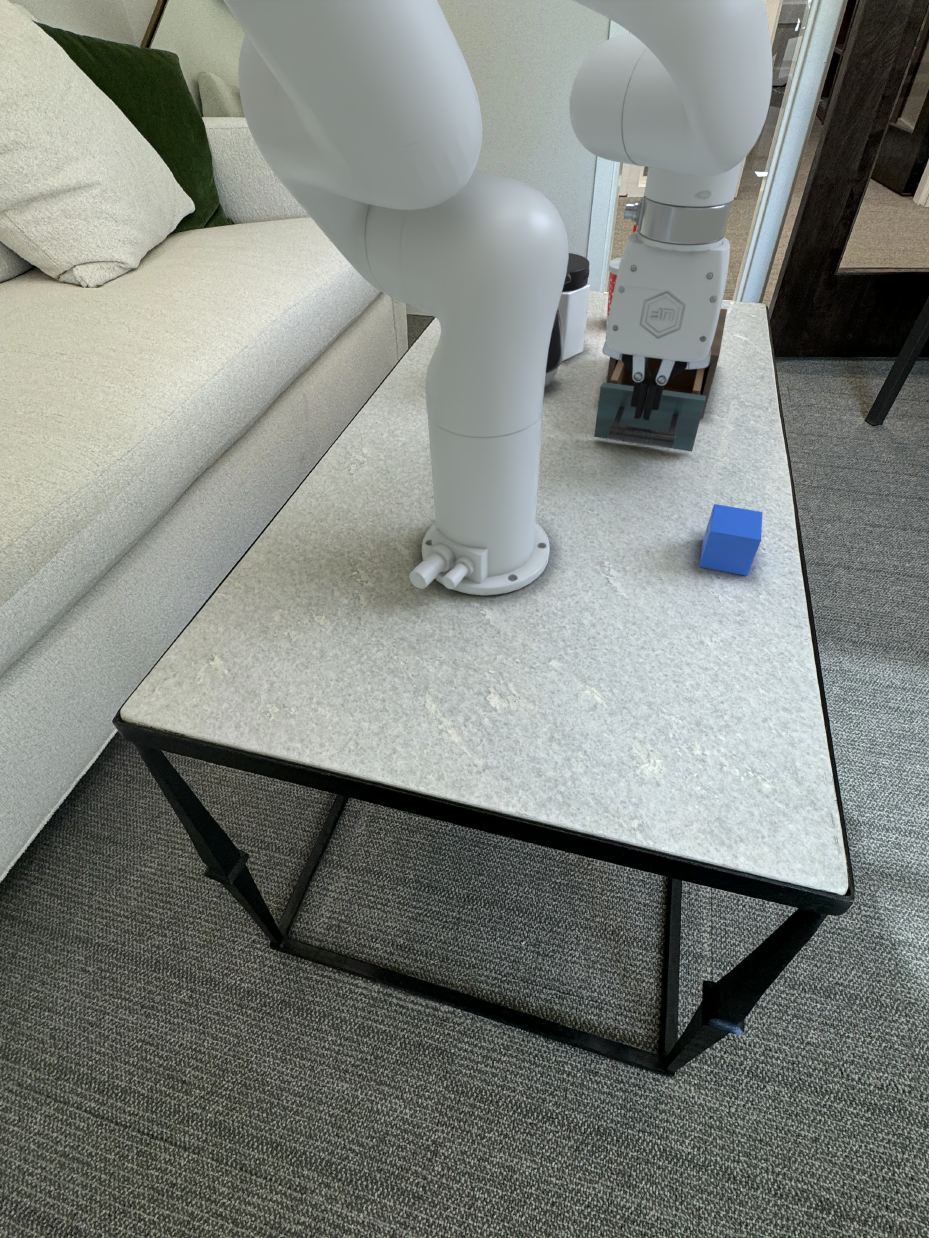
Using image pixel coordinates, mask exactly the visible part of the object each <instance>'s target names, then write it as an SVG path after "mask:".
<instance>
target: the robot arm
mask: <svg viewBox="0 0 929 1238" xmlns="http://www.w3.org/2000/svg"><path fill="white" fill-rule="evenodd" d="M222 1H223V3H224V4H225V5H226V7H227V9H228V10H229V12H230V13H231V14H232V16H233V17H234V19H235V20H236V22H237V23H238V24H239V26H240V28H241V30H242V31H243V32H244V37H243V40H242V43H241V47H240V50H239V51H240V52H239V58H238V66H237V67H238V69H237V71H238V72H237V73H238V74H237V75H238V89H239V91H238V92H239V96H240V103H241V108H242V111H243V115H244V118H245V121H246V125H247V127H248V129H249V132H250V135H251V137H252V139H253V141H254V143H255V145H256V146H257V149H258V151H259V152H260V154H261V156H262V157H263V159H264V161H265V163H266V164H267V165H268V167H269V168H270V170H271V171H272V172H273V173H274V175H275V176H276V177H277V179H278V180H279V181H280V183H281V184H282V185H283V186H284V187H285V189H286V190H287V191H288V192H289V194H290V195H291V196H292V197H293V198H294V199H295V201H296V202H297V203H298V204H299V205H300V206H301V208H302V209H303V210H304V211H305V212H306V214H307V215H308V216H309V218H311V220H312V221H313V222H314V223H315V224H316V226H317V227H318V228H319V229H320V230H321V231H322V233H323V234H324V235H325V237H326V238H328V241H330V243H332V244H333V245H334V247H335V248H336V250H338V251H339V253H340V254H341V255H342V256H343V257H344V258H345V260H346V261H347V262H348V263H349V264H350V265H351V267H352V268H353V269H354V270H355V271H356V272H357V273H358V274H359V275H360V276H361V277H362V278H363V279H364V280H365V281H366V282H367V283H368V284H370V285H371V286H372V287H373V288H375V289H376V290H378V291H379V292H381V293H383V294H384V295H386V296H389V297H390V298H392V299H394V300H397V301H399V302H401V303H404V304H405V305H406V304H407V305H408V306H411V307H413V308H415V309H416V310H417V309H418V310H419V311H422V312H424V313H425V314H427V315H429V316H432V317H434V318H435V319H437V320H438V322H439V325H440V334H439V339H438V341H437V344H436V347H435V349H434V351H433V354H432V356H431V358H430V361H429V362H428V367H427V371H426V378H425V403H426V415H427V426H428V427H427V428H428V438H429V439H428V440H429V454H430V467H431V479H432V480H431V481H432V494H433V506H434V507H433V508H434V521H435V522H434V523H433V524H432V525H431V526H430V527H429V529H428V530H427V531H426V532H425V534H424V537H423V539H422V541H421V556H422V561H421V562H419V564H418V565H416V566H415V567H414V568H413V569H412V570H411V571H410V573H408V578H409V580H410V583H411V584H412V585H413V586H414V587H416V588H417V589H420V590H424V589H426V588H427V587H428V586H429V585H430V584H431V583H432V582H433V581H434V580H436V581H437V582H438V583H440V584H441V585H443V586H444V587H445V588H446V589H448V590H453V591H456V592H460V593H463V594H468V595H475V596H496V595H501V594H507V593H511V592H514V591H517V590H520V589H522V588H525V587H526V586H528V585H530V584H532V583H533V582H534V581H535V580H537V579H538V578H539V577H540V576H541V575H542V573H543V572H544V571H545V569H546V567H547V565H548V563H549V559H550V550H551V549H550V547H551V544H550V540H549V536H548V535H547V533H546V531H545V530H544V528H543V527H542V526H541V525H540V524H539V523H538V522H537V507H538V495H539V494H538V493H539V492H538V490H539V476H540V463H541V462H540V460H541V447H542V432H543V417H544V397H545V387H546V386H545V374H546V365H547V357H548V349H549V344H550V338H551V333H552V328H553V324H554V320H555V315H556V312H557V308H558V304H559V301H560V297H561V293H562V290H563V286H564V281H565V277H566V272H567V265H568V256H569V253H570V250H569V249H570V247H569V237H568V232H567V228H566V225H565V223H564V220H563V218H562V217H561V214H560V213H559V210H558V209H557V208H556V206H555V205H554V204H553V203H552V201H550V199H549V198H548V197H547V196H545V195H544V194H543V193H542V192H541V191H540V190H538V189H536V188H534V187H533V186H531V185H529V184H527V183H526V182H523V181H521V180H519V179H516V178H514V177H510V176H507V175H503V174H500V173H495V172H491V171H486V170H483V169H477V164H478V162H479V158H480V154H481V150H482V144H483V133H484V132H483V117H482V110H481V105H480V99H479V95H478V91H477V89H476V85H475V83H474V80H473V78H472V75H471V71H470V69H469V66H468V64H467V61H466V58H465V57H464V55H463V52H462V50H461V48H460V46H459V43H458V41H457V39H456V37H455V35H454V33H453V31H452V29H451V26H450V24H449V21H448V20H447V18H446V16H445V14H444V11H443V10H442V7H441V5H440V3H439V1H438V0H222ZM572 1H574V2H575V3H577V4H579V5H582V6H584V7H585V8H587V9H590V10H591V11H594V12H596V13H597V14H599V15H602V16H604V18H605V17H606V18H607V19H608V20H611V21H612V22H614V23H616V24H617V25H619V26H620V27H622V28H624V30H626V31H628V32H629V33H624V34H619V35H616V36H613V37H610V38H609V39H607V40H604V41H603V42H601V43H600V44H599V45H598V46H596V47H595V48H594V49H593V50H592V51H591V52H590V53H589V54H588V55H587V56H586V58H585V59H584V61H583V62H582V64H581V65H580V67H579V69H578V70H577V73H576V75H575V78H574V80H573V83H572V86H571V90H570V95H569V96H570V97H569V118H570V124H571V128H572V130H573V133H574V135H575V137H576V138H577V140H578V142H579V143H580V145H581V146H582V147H583V148H584V149H586V150H587V151H588V152H589V153H591V154H592V155H594V156H596V157H598V158H601V159H603V160H607V161H611V162H616V163H621V164H627V165H632V166H636V167H637V166H639V167H648V168H647V174H646V181H645V188H644V193H643V196H642V197H640V199H639V200H635V201H626V203H625V207H624V212H623V219H624V220H630V221H631V222H635V225H637V229H636V232H634V233H633V232H632V233H631V234H630V235H629V236H628V238H627V239H626V243H625V246H624V249H623V251H622V256H621V257H620V258H621V262H620V266H619V270H618V274H617V278H616V283H615V287H614V292H613V297H612V302H611V307H610V313H609V318H608V324H607V327H606V333H605V341H604V343H603V347H602V348H601V349H602V352H601V353H602V354H603V355H605V356H607V357H609V358H610V357H612V358H614V359H617V360H621V361H622V362H623V363H624V365H625V366H626V367H627V369H628V370H629V371H630V373H631V374H632V377H633V380H634V381H635V383H634V389H633V394H632V399H631V405H630V407H636V411H635V416H634V418H635V419H639V418H641V417H642V414H643V419H644V420H648V421H649V419H650V415H651V412H652V410H657V411H658V410H659V406H660V402H661V397H662V393H663V388H664V385H665V384H666V383H667V381H668V380H670V379H671V378H673V377H674V376H676V375H677V374H679V373H680V372H682V371H683V370H685V369H699V368H706V367H708V365H709V363H710V351H711V345H712V342H713V339H714V335H715V331H716V327H717V323H718V319H719V314H720V310H721V309H722V305H723V300H724V295H725V290H726V286H727V280H728V274H729V266H730V265H729V264H730V258H731V243H730V240H729V239H728V238H726V237H725V234H726V230H727V226H728V222H729V219H730V213H731V210H732V206H733V201H734V197H735V193H736V189H737V185H738V182H739V178H740V173H741V170H742V166H743V161H744V160H745V158H746V157H747V156H748V155H749V153H750V152H751V150H752V149H753V148H754V147H755V145H756V143H757V141H758V139H759V138H760V135H761V133H762V130H763V128H764V125H765V123H766V120H767V116H768V112H769V109H770V104H771V99H772V98H771V97H772V90H773V51H772V42H771V35H770V33H771V32H770V25H769V19H768V13H767V5H766V0H572ZM648 357H651V358H658V359H662V362H661V364H660V367H659V368H658V369H657V370H656V371H655V373H654V375H653V376H652V379H651V382H650V378H651V375H650V369H649V368H648ZM649 383H650V385H649ZM544 386H545V387H544ZM648 388H649V389H648ZM647 393H648V394H647ZM646 398H647V399H646ZM645 403H646V404H645ZM644 407H645V409H644ZM643 410H644V413H643Z"/></svg>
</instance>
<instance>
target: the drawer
mask: <svg viewBox="0 0 929 1238" xmlns="http://www.w3.org/2000/svg"><path fill="white" fill-rule="evenodd" d="M661 362H662V359H658V358H651V357H648V368H649V369H650V375H651V378H650V382H651V379H652V376H653V375H654V373H655V371H656V370H657V369H658V368H659V367H660V364H661ZM704 369H705V368H699V369H685V370H683V371H682V372H680V373H679V374H677V375H676V376H674V377H673V378H671V379H670V380H668V381H667V383H666V384H665V385H664V388H663V393H662V397H661V402H660V406H659V410H658V411H657V410H652V412H651V415H650V419H649V421H648V420H644V419H643V414H642V417H641V418H639V419H635V418H634V416H635V411H636V407H630V405H631V399H632V394H633V389H634V383H635V381H634V380H633V377H632V374H631V373H630V371H629V370H628V369H627V367H626V366H625V365H624V363H623V362H622V361H621V360H618V363H617V365H616V368H615V370H614V373H613V375H612V378H611V380H610V383H606V382H602V383H601V385H600V390H599V397H598V403H597V412H596V419H595V426H594V436H593V437H594V438H600V439H605V440H612V441H619V442H624V443H632V444H640V445H646V446H653V447H658V448H659V447H660V448H665V449H673V450H678V451H679V450H680V451H687V452H693V450H694V449H693V448H694V445H695V441H696V438H697V435H698V429H699V427H700V422H701V420H702V419H701V415H702V411H703V407H704V403H705V399H706V396H705V395H699V394H700V389H701V384H702V379H703V374H704ZM649 385H650V383H649ZM648 389H649V388H648ZM647 394H648V393H647ZM646 399H647V398H646ZM645 404H646V403H645ZM644 409H645V407H644ZM643 413H644V410H643Z"/></svg>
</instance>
